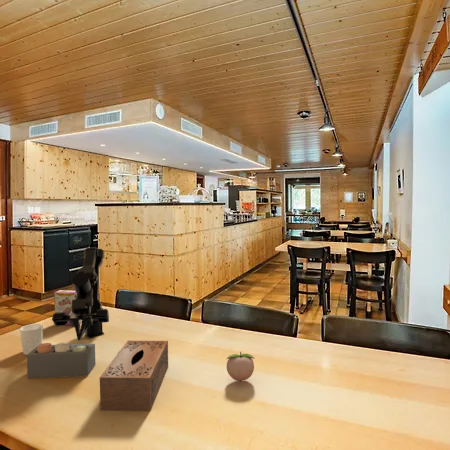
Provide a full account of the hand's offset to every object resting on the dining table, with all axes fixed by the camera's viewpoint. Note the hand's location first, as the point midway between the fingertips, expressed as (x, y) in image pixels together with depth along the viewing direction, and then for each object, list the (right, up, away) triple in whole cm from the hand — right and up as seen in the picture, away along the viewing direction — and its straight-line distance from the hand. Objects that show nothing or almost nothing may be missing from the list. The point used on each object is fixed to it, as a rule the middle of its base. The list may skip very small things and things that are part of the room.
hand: (79, 339), depth 118 cm
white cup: (-26, -11, +17) cm, 33 cm away
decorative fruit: (+57, -12, -7) cm, 58 cm away
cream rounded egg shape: (-6, -6, 0) cm, 9 cm away
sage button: (0, -8, +1) cm, 8 cm away
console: (-6, -11, +1) cm, 13 cm away
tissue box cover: (+23, -12, -9) cm, 28 cm away
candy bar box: (-26, -9, +47) cm, 55 cm away
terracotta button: (-12, -6, 0) cm, 14 cm away
